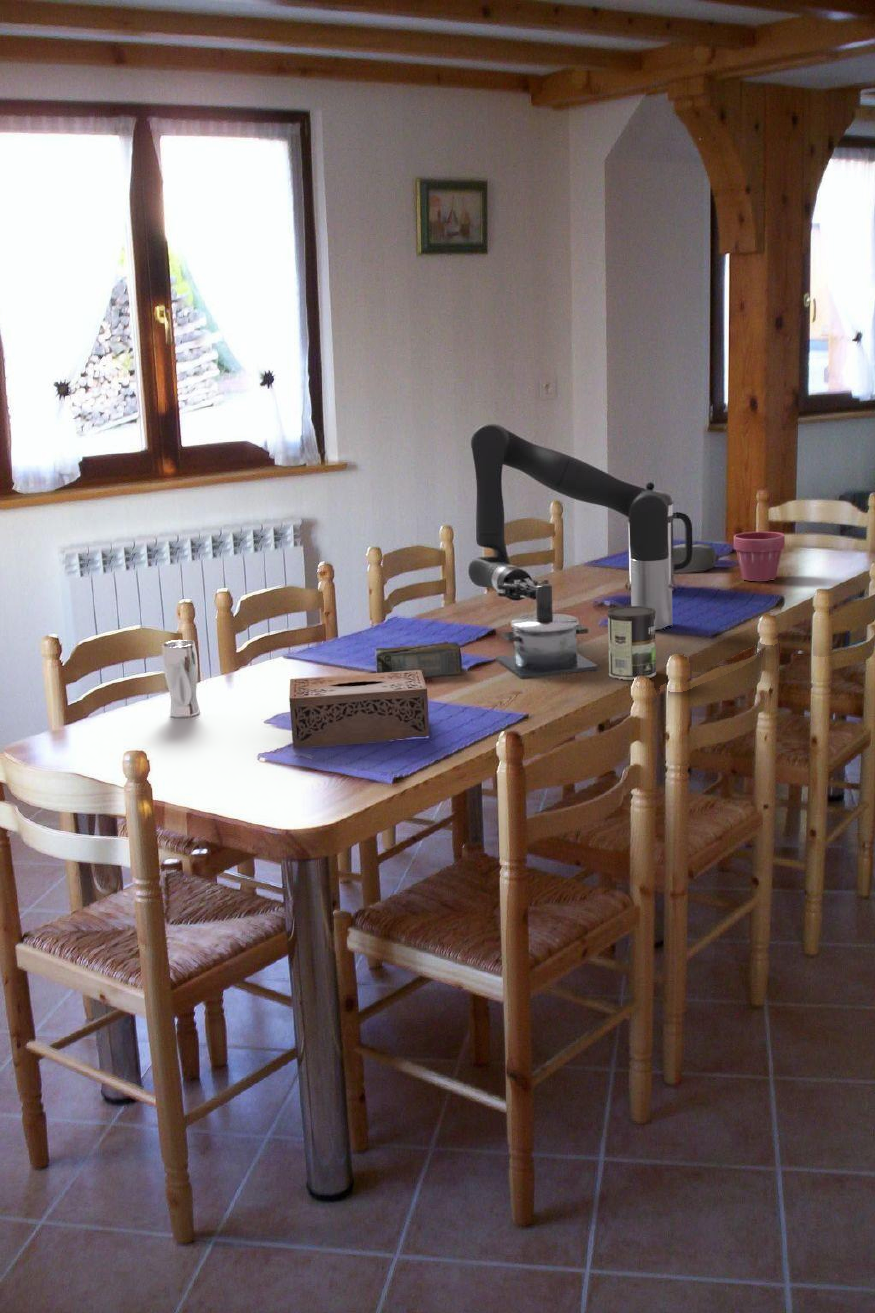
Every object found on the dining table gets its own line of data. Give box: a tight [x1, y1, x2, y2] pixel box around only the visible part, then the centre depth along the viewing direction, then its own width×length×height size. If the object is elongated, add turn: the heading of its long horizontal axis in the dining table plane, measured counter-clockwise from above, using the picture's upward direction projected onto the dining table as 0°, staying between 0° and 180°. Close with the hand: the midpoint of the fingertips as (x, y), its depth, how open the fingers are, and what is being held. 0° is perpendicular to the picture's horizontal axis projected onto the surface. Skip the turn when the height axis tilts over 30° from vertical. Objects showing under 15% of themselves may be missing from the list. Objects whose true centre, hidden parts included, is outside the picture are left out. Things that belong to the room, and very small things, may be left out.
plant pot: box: [733, 531, 786, 581], centre depth 390 cm, size 14×14×13 cm
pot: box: [495, 624, 599, 679], centre depth 309 cm, size 19×18×9 cm
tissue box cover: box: [288, 670, 431, 749], centre depth 266 cm, size 26×14×10 cm, turn 95°
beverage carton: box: [374, 641, 463, 678], centre depth 308 cm, size 8×19×7 cm, turn 95°
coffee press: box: [624, 481, 693, 590], centre depth 383 cm, size 17×16×30 cm
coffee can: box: [606, 605, 657, 681], centre depth 297 cm, size 10×10×14 cm
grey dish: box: [673, 543, 720, 574], centre depth 411 cm, size 18×11×8 cm, turn 81°
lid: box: [510, 583, 579, 633], centre depth 307 cm, size 15×15×9 cm
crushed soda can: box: [161, 639, 201, 719], centre depth 284 cm, size 7×7×15 cm
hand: (536, 594), depth 312 cm, fingers closed
